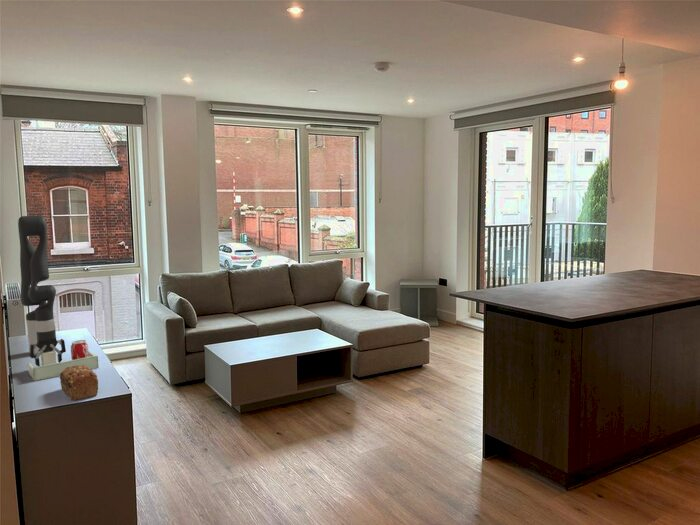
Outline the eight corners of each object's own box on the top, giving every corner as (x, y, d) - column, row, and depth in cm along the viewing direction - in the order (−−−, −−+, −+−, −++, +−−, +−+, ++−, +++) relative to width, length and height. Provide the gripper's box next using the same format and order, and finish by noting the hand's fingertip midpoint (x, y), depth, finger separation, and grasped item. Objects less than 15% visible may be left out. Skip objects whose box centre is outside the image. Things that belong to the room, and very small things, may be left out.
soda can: (82, 370, 247) (80, 344, 245) (68, 369, 248) (66, 343, 247) (93, 365, 254) (91, 339, 252) (79, 364, 255) (77, 339, 254)
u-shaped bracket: (28, 373, 243) (27, 361, 243) (90, 361, 260) (89, 350, 259) (34, 380, 234) (33, 368, 233) (98, 367, 250) (97, 355, 249)
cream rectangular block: (41, 367, 253) (40, 351, 252) (54, 365, 256) (52, 349, 255) (44, 370, 248) (42, 354, 247) (57, 368, 251) (55, 351, 250)
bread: (99, 396, 214) (97, 371, 213) (69, 402, 208) (67, 377, 207) (88, 383, 229) (86, 360, 228) (59, 389, 223) (57, 365, 221)
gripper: (61, 325, 257) (64, 359, 259) (26, 330, 248) (29, 365, 250) (65, 328, 251) (68, 362, 253) (29, 333, 242) (32, 369, 244)
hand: (49, 364), depth 252 cm, fingers open, 8 cm apart
